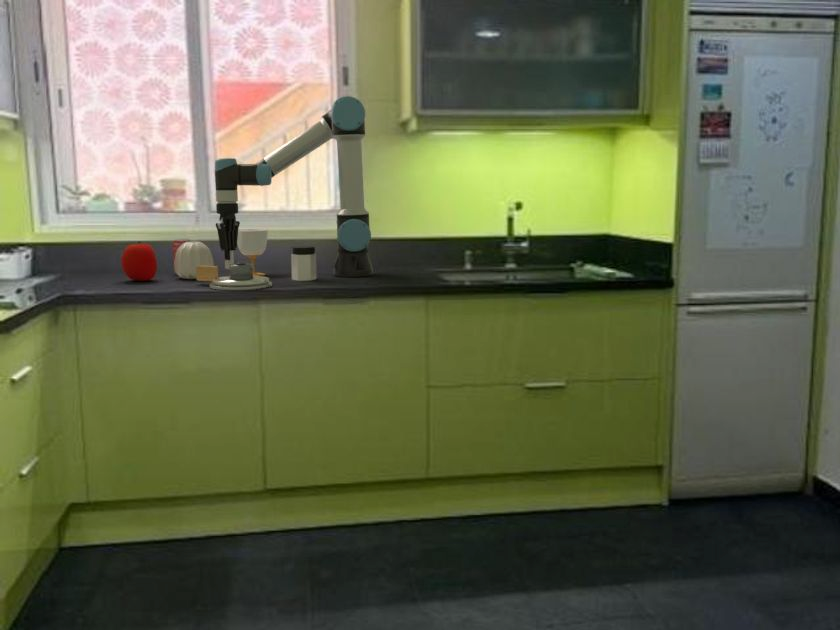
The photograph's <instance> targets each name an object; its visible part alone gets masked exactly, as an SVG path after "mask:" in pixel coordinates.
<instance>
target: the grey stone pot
mask: <svg viewBox="0 0 840 630" xmlns="http://www.w3.org/2000/svg"><path fill="white" fill-rule="evenodd" d="M228 270H229V271H228V272H229V273H228V274H229V275H228V276H230V280H237V281H241V280H252V279H253V264H252V263H251V262H250V263H249V262H248V263H247V262H245V261H244V262H243V261H240V262H236V263H235V262H234V264H229V269H228Z"/></svg>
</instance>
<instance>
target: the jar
mask: <svg viewBox="0 0 840 630" xmlns="http://www.w3.org/2000/svg"><path fill="white" fill-rule="evenodd" d="M291 250H292V251H291V255H290V257H291V261H290V263H291V265H290V266H291V280H292V281H298V282H309V281H310V282H311V281H316V280H317V254H316V248H315V246H314V245H295V246H294V245H293V246H292V248H291Z"/></svg>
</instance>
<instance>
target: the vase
mask: <svg viewBox="0 0 840 630" xmlns="http://www.w3.org/2000/svg"><path fill="white" fill-rule="evenodd" d="M199 265H204V266H215V265H214V258H213V254H212V251H211V248H210V247H208V246H207V245H206V244H205V243H203V242H201V241H195V240H194V241H191V242H185V243H184V244H182V245H181V246H180V247H179V248H178V249H177V252H176V255H175V263H174V262H173V269H174V268H175V272H176V273H177V274H176V273H175V272H174V273H175V274H176V275H177V276H178V277H179V278H181V279H183V280H184V279H185V280H197V276H196V266H199Z"/></svg>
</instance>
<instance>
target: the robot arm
mask: <svg viewBox="0 0 840 630" xmlns="http://www.w3.org/2000/svg"><path fill="white" fill-rule="evenodd" d="M331 105H332V106H331V109H329V110H328V111H327V112H326V113H325V114H323V115H322V116H321V117H320V121H318V122H316V123H315V124H313V125H311V126H310V127H308V128H307V129H306V130H304V131H303V132H301V133H300V134H298V135H297V136H295V137H293V138H292V139H290V140H289V141H287V142H286V143H285V144H282V146H280V147H278V148H277V149H275V150H274V151H272V152H271V153H269V154H268V155H266V156H265V157H263V158H262V159H260V160H258V161H257V162H256V163H238V161H237V159H236V158H234V157H233V158H230V157H228V158H225V157H222V158H220V157H219V158H216V159H215V161H214V180H215V181H214V182H215V183H214V184H215V198H216V202H217V203H216V204H215V205H216V214H219V219H218V220H219V221H218V222H216V223H215V227H216V229H217V236H218V242H219V246H220V247H219V248H220V250H221V251H222V252H223V251H224V268H225V270H229V264H235V262H234V261H235V258H234V251H237V248H238V244H237V240H238V230H239V227H240V224H241V222H240V221H238V220H236V219H237V218H236V215H237V214H238V213H239V204H238V202H239V197H238V196H239V195H238V186H260V187H264V186H270V185H271V184H272V179H273V178H274V177H275V176H276V175H278V174H280V173H281V172H283V171H284V170H286V169H288V168H289V167H291V166H292V165H293V164H295V163H297V162H299V160H301V159H302V158H305V156H308V155H309V154H311V153H312V152H313V151H315V150H317V149H318V148H321V146H322V145H323V146H324V144H326V143H327V142H329V141H330V140H332V139H334V140H335V141H336V146H337V149H336V150H337V151H336V152H337V166H338V167H337V168H338V170H337V171H338V186H339V187H338V188H339V203H340V204H339V205H340V209H339V210H338V212H337V213H336V236H337V237H336V239H337V241H336V242H337V244H336V246H337V255H336V259H335V261H334V265H333V268H332V269H333V270H332V275H333V276H335V277H344V278H346V277H347V278H355V277H356V278H358V277H359V278H360V277H369V276H372V275H374V269H373V265H372V263H371V260H370V256H369V244H370V241H371V238H372V232H371V227H370V213H369V211H368V210H367V209H366V207H365V194H364V173H363V153H362V152H363V151H362V150H363V149H362V148H363V147H362V140H363V139H364V137H366V125H365V124H366V122H365V118H366V109H365V107H364V104H363V103H362V102H361V101H360V100H359V99H358V98H356V97H353V96H341V97H339V98H337V99H336V100H335V101H334V102H333V104H331Z"/></svg>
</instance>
